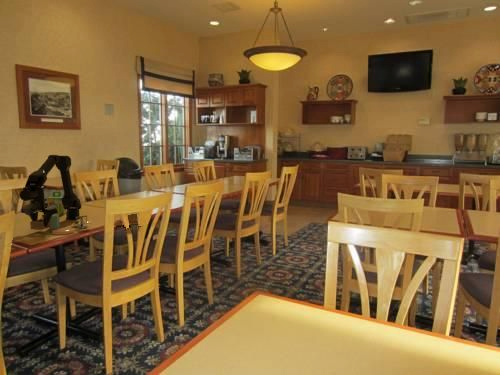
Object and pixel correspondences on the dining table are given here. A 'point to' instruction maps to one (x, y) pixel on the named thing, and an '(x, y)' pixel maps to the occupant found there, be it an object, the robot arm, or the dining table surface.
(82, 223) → the balance
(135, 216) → the stone cup
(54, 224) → the block
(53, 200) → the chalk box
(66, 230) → the dish
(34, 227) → the sleeve
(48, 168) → the robot arm
